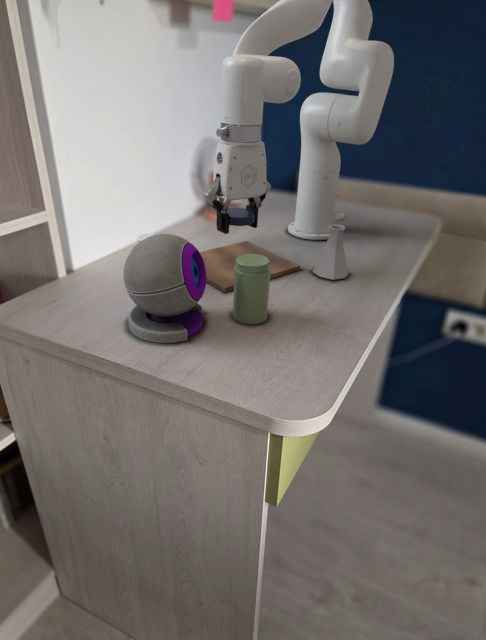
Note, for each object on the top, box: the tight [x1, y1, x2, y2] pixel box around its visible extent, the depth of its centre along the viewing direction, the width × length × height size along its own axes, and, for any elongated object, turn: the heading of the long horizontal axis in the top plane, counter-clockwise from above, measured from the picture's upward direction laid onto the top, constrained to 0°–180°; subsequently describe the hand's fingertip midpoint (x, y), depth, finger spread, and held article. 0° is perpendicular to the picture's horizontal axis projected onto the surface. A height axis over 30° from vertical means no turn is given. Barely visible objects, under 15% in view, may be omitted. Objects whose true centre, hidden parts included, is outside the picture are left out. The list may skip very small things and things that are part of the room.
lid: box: [227, 207, 255, 227], centre depth 100 cm, size 7×7×2 cm
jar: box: [232, 254, 271, 325], centre depth 84 cm, size 6×6×10 cm
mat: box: [199, 240, 301, 293], centre depth 105 cm, size 20×18×1 cm
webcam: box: [122, 233, 207, 344], centre depth 79 cm, size 13×13×15 cm
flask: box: [312, 223, 350, 281], centre depth 101 cm, size 7×7×10 cm
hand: (237, 228), depth 101 cm, fingers closed on lid, 6 cm apart
